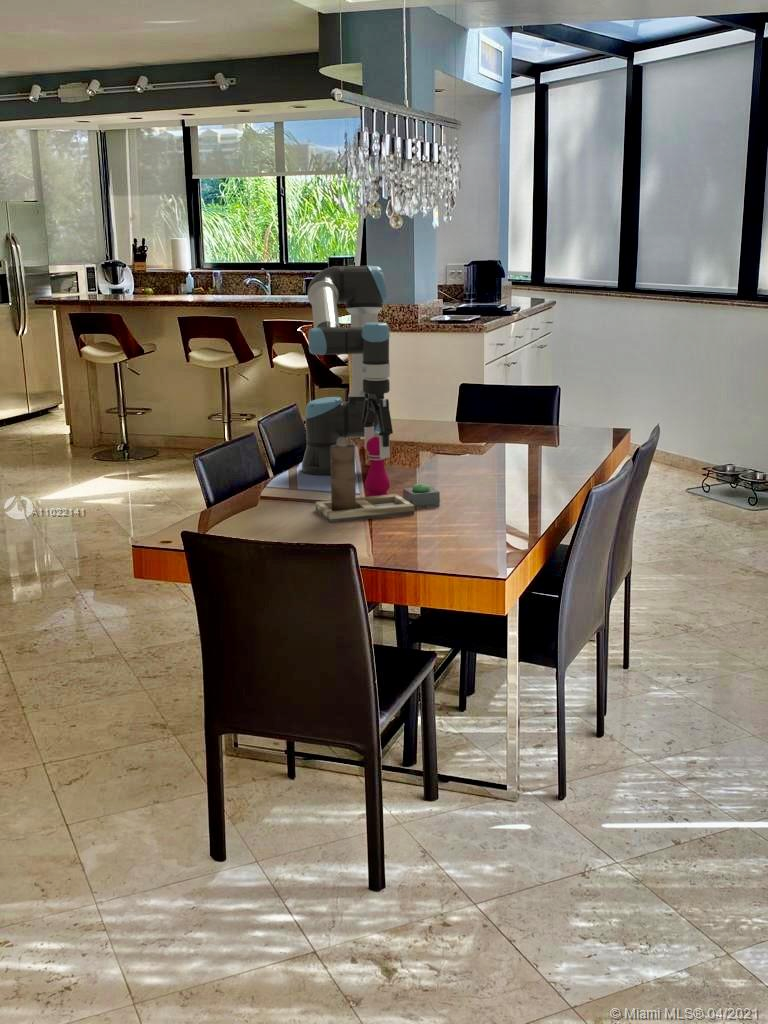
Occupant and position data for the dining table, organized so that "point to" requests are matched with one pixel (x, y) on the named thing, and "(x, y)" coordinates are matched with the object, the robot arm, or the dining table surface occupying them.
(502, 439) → the dining table surface
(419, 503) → the button box
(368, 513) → the divided tray
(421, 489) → the button
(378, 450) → the pepper mill
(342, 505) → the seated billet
